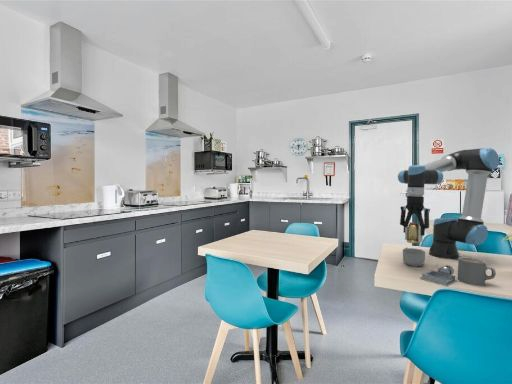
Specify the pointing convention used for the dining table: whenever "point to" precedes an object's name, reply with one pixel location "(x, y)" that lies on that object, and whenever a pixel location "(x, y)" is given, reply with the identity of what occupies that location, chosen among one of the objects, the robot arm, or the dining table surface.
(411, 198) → the robot arm
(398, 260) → the dining table surface
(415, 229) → the cylinder
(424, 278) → the flange seat
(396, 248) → the dining table surface
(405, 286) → the dining table surface
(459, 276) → the coffee mug
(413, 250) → the teacup
